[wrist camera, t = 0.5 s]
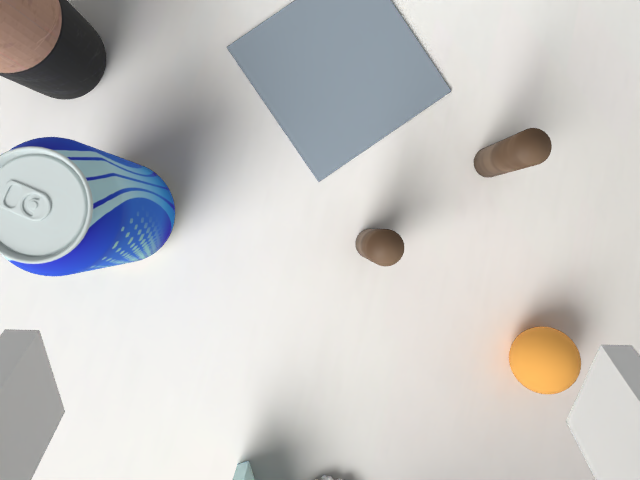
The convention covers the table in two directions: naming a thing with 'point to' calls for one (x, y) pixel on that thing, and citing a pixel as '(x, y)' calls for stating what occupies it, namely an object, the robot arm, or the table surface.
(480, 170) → the post
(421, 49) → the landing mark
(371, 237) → the post
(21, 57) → the travel mug
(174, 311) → the table surface
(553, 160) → the table surface
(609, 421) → the robot arm
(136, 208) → the beer can
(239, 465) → the l-shaped corner panel
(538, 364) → the ball
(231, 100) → the table surface
